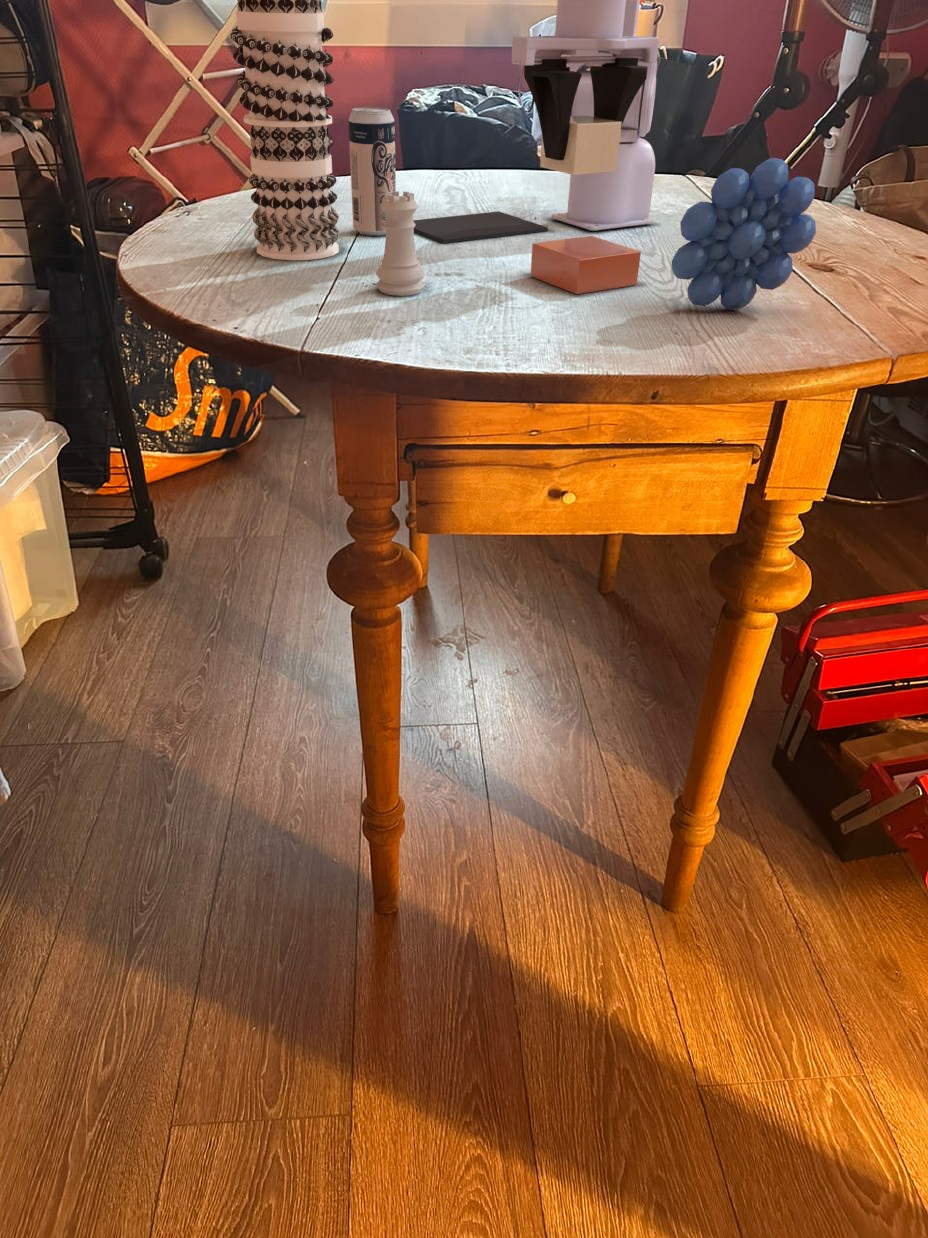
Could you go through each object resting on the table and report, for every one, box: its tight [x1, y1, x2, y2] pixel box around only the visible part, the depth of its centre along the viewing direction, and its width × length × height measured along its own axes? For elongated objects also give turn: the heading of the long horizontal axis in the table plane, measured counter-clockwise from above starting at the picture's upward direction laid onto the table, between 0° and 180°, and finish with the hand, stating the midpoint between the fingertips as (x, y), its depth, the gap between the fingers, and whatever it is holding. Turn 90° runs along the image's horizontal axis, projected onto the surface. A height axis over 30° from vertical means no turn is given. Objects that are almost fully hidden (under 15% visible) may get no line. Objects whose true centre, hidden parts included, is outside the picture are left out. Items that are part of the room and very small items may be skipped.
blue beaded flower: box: [671, 157, 817, 311], centre depth 78 cm, size 12×7×12 cm, turn 91°
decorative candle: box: [229, 0, 340, 261], centre depth 87 cm, size 9×9×25 cm
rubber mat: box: [413, 211, 549, 244], centre depth 105 cm, size 14×10×1 cm
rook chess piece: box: [375, 190, 426, 297], centre depth 81 cm, size 4×4×8 cm
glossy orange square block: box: [529, 235, 642, 295], centre depth 86 cm, size 7×7×3 cm
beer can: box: [347, 107, 397, 237], centre depth 99 cm, size 5×5×12 cm
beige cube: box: [539, 116, 622, 175], centre depth 83 cm, size 5×5×4 cm
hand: (578, 156), depth 84 cm, fingers closed on beige cube, 5 cm apart
